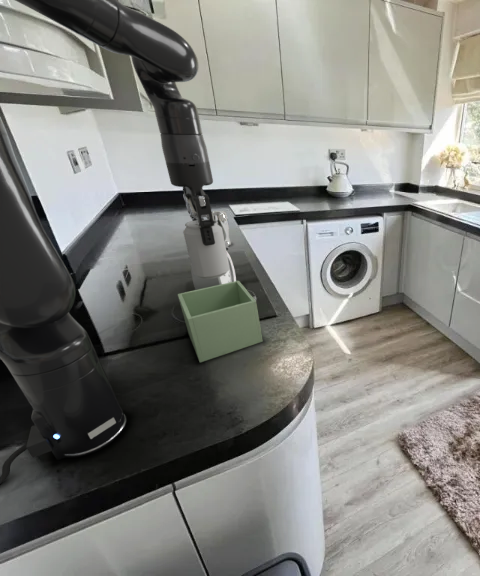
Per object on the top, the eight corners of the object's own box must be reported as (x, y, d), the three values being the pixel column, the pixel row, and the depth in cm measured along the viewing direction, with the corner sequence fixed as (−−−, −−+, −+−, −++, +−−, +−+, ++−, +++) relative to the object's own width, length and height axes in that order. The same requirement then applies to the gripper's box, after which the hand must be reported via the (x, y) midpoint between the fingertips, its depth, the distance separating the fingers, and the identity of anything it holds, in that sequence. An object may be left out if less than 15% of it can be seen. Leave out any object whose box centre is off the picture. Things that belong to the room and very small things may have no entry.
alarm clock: (229, 312, 95) (214, 241, 86) (197, 314, 94) (179, 242, 84) (240, 288, 110) (228, 225, 100) (212, 290, 108) (198, 225, 99)
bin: (199, 362, 75) (187, 319, 70) (188, 333, 85) (177, 294, 80) (262, 341, 83) (256, 301, 78) (245, 317, 93) (238, 280, 88)
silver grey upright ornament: (233, 246, 148) (226, 213, 141) (216, 248, 145) (209, 214, 139) (232, 241, 154) (226, 210, 147) (215, 243, 151) (209, 211, 144)
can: (235, 267, 78) (226, 218, 72) (222, 280, 71) (211, 227, 66) (203, 267, 77) (192, 217, 72) (187, 280, 71) (173, 226, 65)
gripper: (161, 157, 66) (180, 234, 74) (170, 163, 56) (192, 252, 63) (201, 156, 71) (216, 229, 78) (216, 162, 60) (232, 245, 68)
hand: (205, 239), depth 71 cm, fingers closed on can, 7 cm apart
